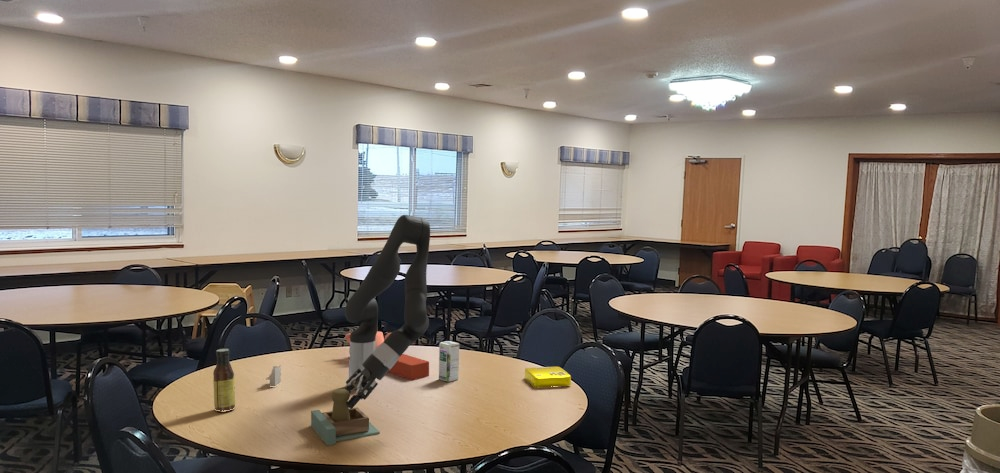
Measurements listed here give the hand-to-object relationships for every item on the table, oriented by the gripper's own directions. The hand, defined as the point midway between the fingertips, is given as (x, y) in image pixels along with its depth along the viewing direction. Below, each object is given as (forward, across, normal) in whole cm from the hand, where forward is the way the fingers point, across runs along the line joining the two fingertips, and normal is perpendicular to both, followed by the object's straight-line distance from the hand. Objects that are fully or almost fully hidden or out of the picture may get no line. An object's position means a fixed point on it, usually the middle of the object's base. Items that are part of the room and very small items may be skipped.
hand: (344, 402), depth 193 cm
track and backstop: (+6, 0, +6) cm, 9 cm away
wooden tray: (+6, 0, +6) cm, 8 cm away
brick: (-22, -52, +35) cm, 66 cm away
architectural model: (+13, -57, 0) cm, 59 cm away
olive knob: (+6, 0, +4) cm, 7 cm away
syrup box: (-30, -36, +43) cm, 64 cm away
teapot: (-18, -80, +30) cm, 88 cm away
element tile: (-53, -17, +66) cm, 87 cm away
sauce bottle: (+27, -36, -14) cm, 47 cm away
